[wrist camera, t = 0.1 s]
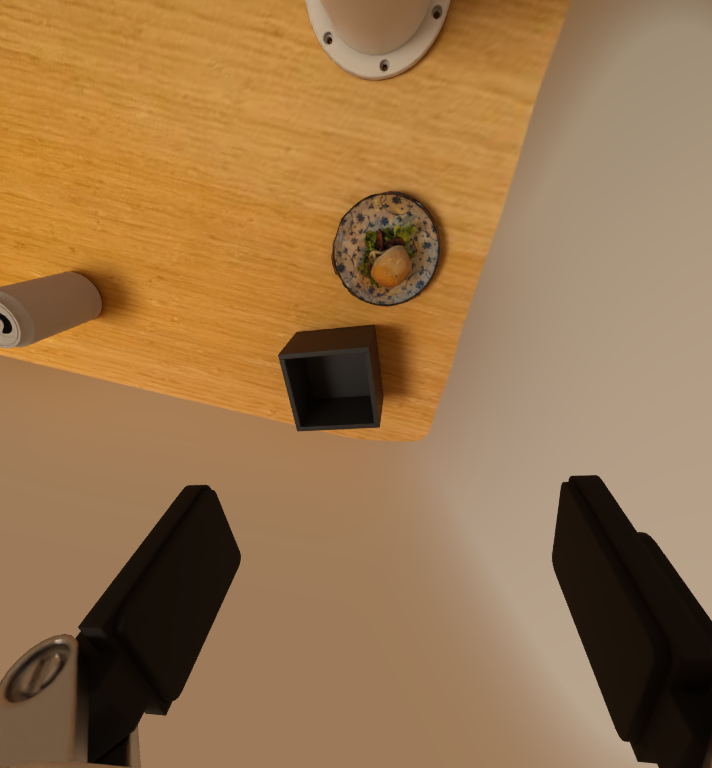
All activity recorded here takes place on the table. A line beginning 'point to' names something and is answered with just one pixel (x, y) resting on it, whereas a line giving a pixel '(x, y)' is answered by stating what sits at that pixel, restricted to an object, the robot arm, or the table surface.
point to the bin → (334, 378)
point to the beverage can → (45, 307)
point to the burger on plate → (386, 249)
